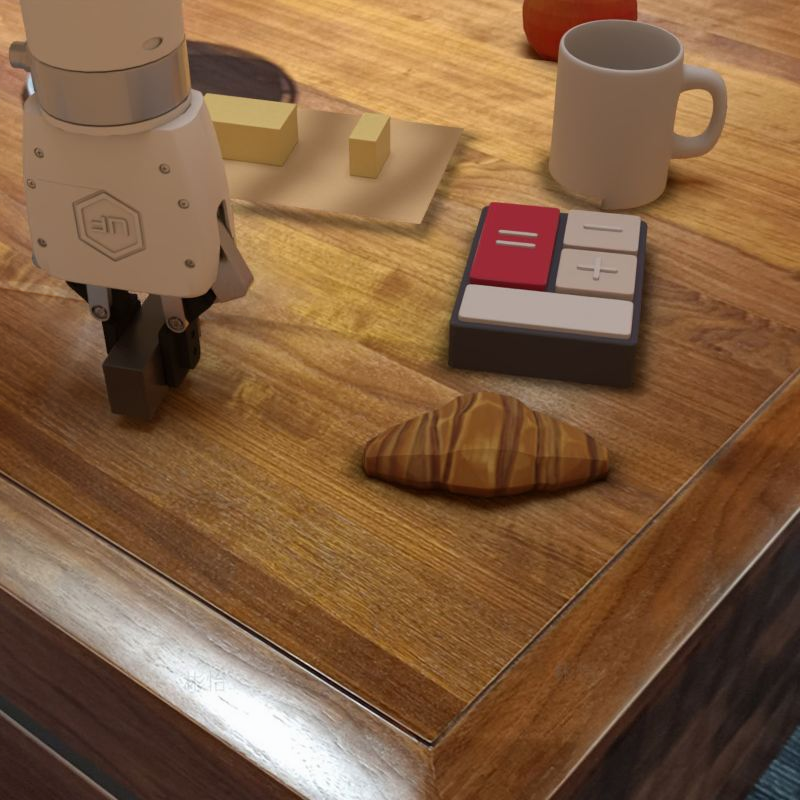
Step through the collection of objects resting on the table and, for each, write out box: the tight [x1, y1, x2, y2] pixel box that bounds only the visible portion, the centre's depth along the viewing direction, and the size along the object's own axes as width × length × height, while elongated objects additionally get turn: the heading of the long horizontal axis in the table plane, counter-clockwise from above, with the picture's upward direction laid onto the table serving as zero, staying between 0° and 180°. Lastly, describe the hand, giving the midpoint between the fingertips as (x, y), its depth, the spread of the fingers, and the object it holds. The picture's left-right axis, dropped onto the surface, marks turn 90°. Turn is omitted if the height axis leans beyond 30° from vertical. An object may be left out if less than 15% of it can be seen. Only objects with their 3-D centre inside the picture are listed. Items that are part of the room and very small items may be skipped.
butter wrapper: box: [203, 95, 465, 225], centre depth 99 cm, size 22×14×2 cm, turn 76°
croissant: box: [360, 390, 611, 500], centre depth 73 cm, size 14×7×5 cm, turn 89°
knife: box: [101, 204, 238, 421], centre depth 81 cm, size 17×2×4 cm, turn 166°
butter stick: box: [203, 92, 298, 166], centre depth 99 cm, size 7×4×3 cm, turn 76°
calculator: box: [447, 201, 648, 389], centre depth 85 cm, size 11×4×15 cm
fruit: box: [521, 0, 639, 63], centre depth 111 cm, size 10×10×10 cm
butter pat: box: [349, 111, 391, 179], centre depth 97 cm, size 2×4×3 cm, turn 166°
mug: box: [548, 20, 728, 210], centre depth 95 cm, size 12×8×11 cm
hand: (156, 367), depth 78 cm, fingers closed on knife, 2 cm apart
